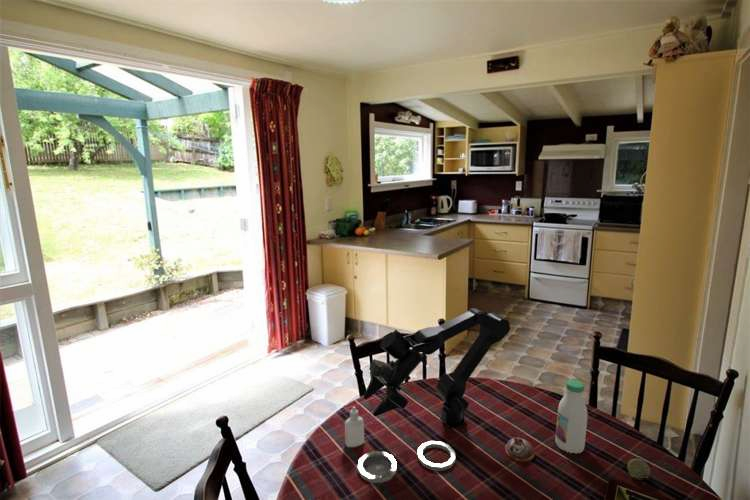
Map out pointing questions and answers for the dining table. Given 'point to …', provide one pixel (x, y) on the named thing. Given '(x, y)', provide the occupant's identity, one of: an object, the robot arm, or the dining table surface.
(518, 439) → the pastry
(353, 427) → the eye dropper bottle
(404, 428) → the dining table surface
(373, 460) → the collar
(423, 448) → the collar
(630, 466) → the lime
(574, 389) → the milk bottle
